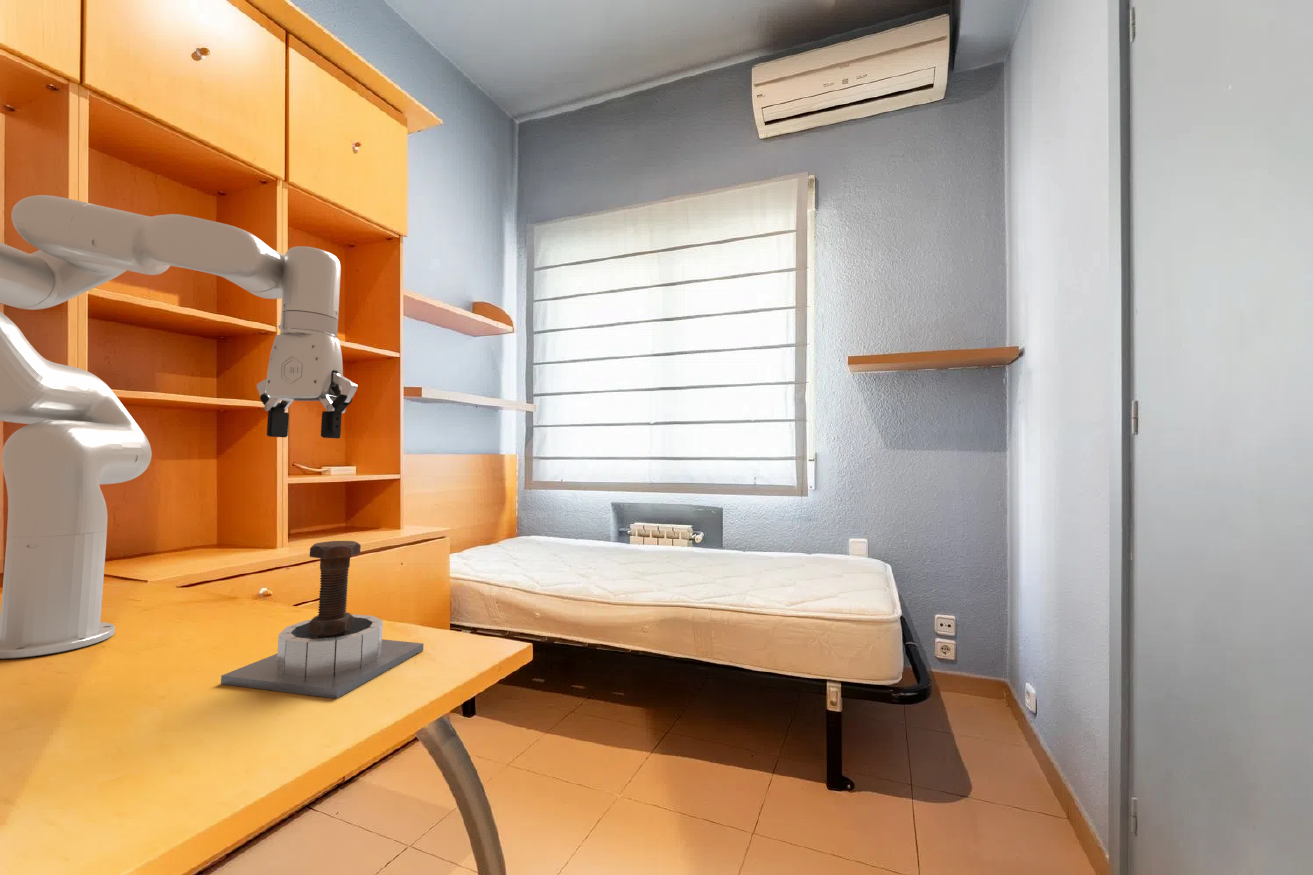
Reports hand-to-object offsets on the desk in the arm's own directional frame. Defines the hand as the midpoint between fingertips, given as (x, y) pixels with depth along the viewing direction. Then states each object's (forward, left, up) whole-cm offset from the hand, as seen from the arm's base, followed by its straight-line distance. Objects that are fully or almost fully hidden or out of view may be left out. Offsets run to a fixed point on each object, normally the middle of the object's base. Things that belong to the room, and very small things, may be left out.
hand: (303, 437), depth 83 cm
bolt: (+15, -9, -30) cm, 34 cm away
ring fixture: (+15, -9, -30) cm, 35 cm away
